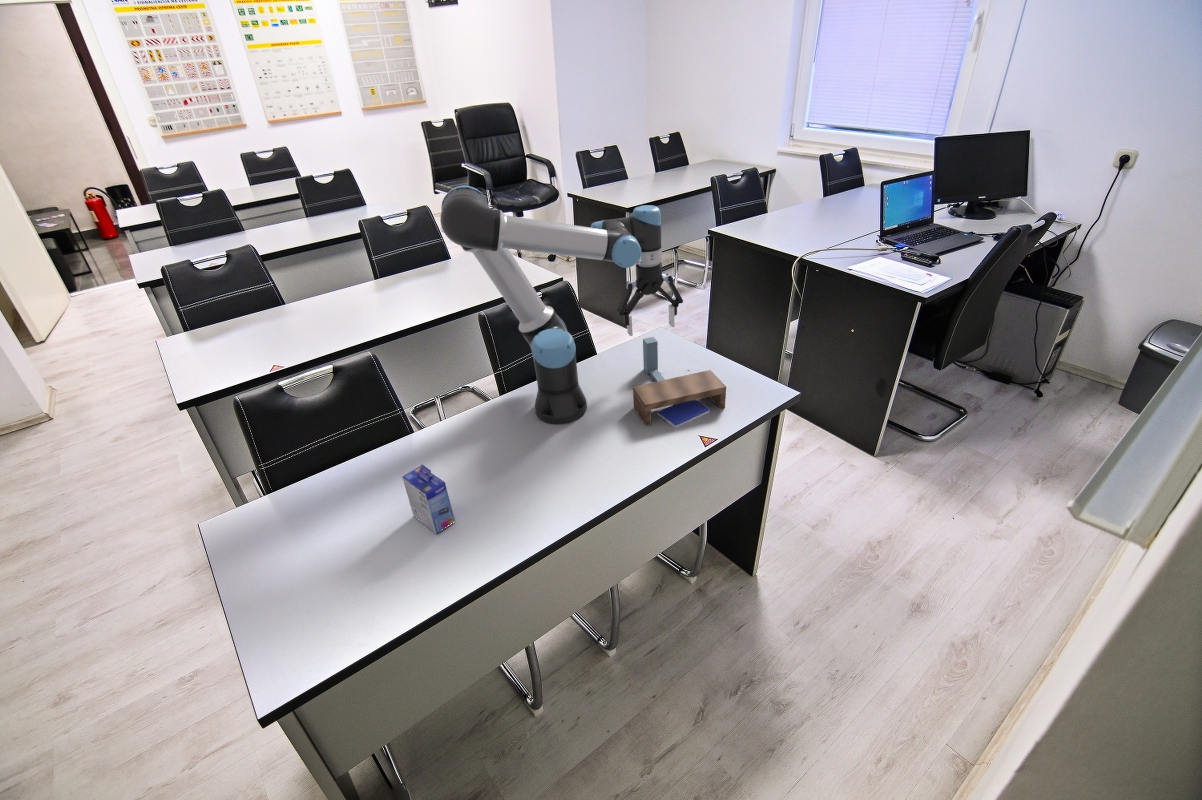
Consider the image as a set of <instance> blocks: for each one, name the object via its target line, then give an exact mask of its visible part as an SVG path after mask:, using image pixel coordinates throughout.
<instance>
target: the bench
mask: <svg viewBox="0 0 1202 800" xmlns="http://www.w3.org/2000/svg"><path fill="white" fill-rule="evenodd" d="M632 395H633V396H632V399H633V408H634V410H635V412H636V413H637V415H638V417H640V419H641V421H642V422H643V424H644V426H645V427H648V426H651V425H652V418H651V417H652V411H651V410H657V409H661V408H667V407H670V406H672V405H674V404H679V403H683V402H687V401H692V400H700V399H703V398H704V399H706V398H710V399H711V400H712V401H713V403H715V404H716V405H717V406H718V409H724V408H726V399H727V396H726V395H727V385H725V384H724V383H723V382H722V380H720V378H719V377H718V376H717V375H716V374H715V373H714V372H713V371H712V370H711V369H709V370H704V371H699V372H694V373H690V374H686V375H681V376H676V377H672V378H667V379H665V380H662V381H657V382H655V381H654V382H649V383H644V384H640V385H634V386H632Z"/></svg>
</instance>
